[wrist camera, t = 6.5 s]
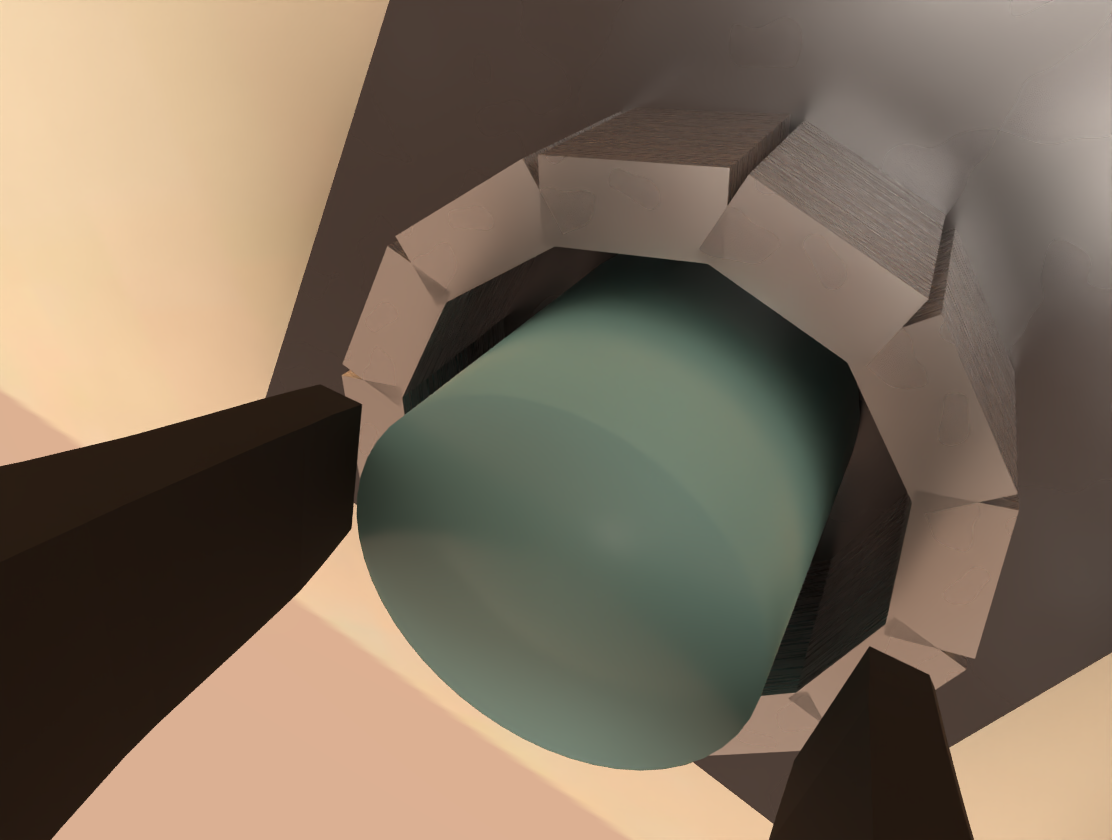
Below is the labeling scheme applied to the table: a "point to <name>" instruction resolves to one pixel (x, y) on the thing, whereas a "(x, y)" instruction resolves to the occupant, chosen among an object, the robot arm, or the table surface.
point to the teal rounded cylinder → (614, 512)
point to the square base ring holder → (782, 284)
